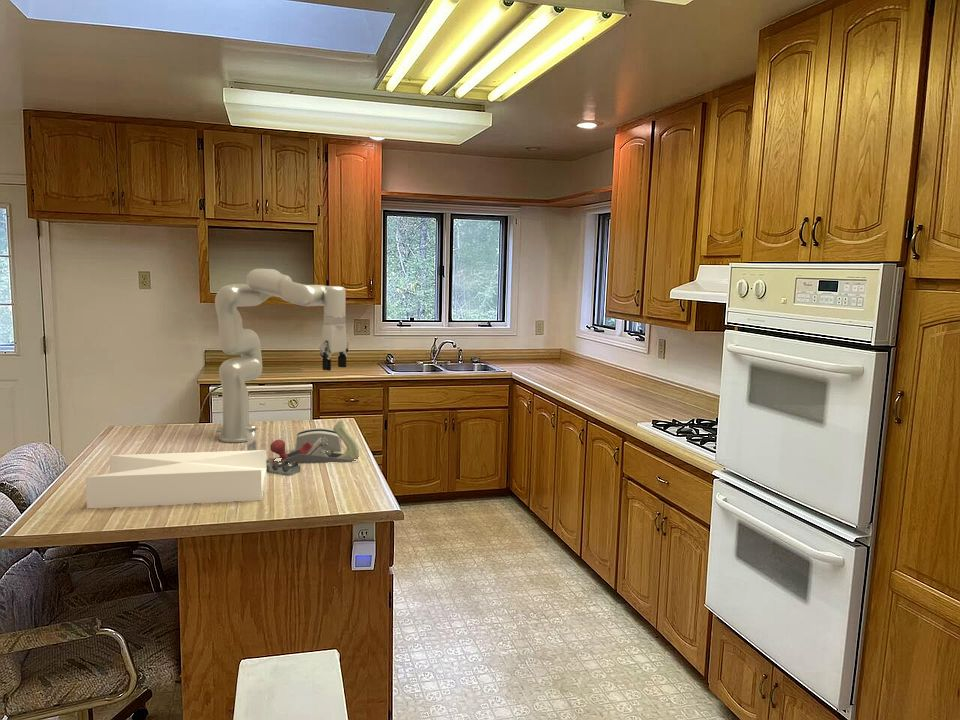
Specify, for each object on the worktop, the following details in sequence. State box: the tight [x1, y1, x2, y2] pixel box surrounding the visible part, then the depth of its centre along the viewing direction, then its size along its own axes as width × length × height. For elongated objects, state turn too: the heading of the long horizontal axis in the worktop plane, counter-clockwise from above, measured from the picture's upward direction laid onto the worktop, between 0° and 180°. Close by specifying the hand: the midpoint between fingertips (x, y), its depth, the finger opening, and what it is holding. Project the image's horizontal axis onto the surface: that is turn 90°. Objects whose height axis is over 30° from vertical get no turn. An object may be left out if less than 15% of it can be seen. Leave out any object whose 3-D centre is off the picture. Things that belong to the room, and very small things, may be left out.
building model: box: [85, 449, 268, 509], centre depth 198 cm, size 45×22×10 cm, turn 104°
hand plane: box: [270, 418, 360, 464], centre depth 235 cm, size 7×31×15 cm, turn 101°
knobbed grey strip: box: [266, 458, 301, 476], centre depth 226 cm, size 32×7×3 cm, turn 68°
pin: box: [246, 424, 259, 451], centre depth 238 cm, size 4×4×11 cm
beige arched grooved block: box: [294, 427, 343, 452], centre depth 248 cm, size 17×5×10 cm, turn 100°
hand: (334, 368), depth 242 cm, fingers open, 9 cm apart
